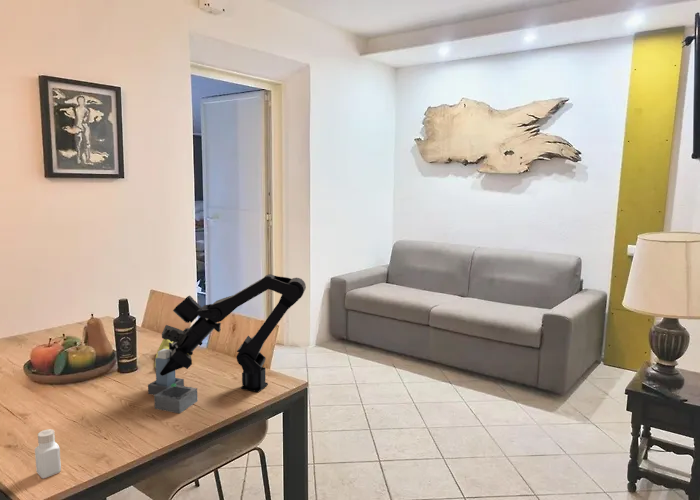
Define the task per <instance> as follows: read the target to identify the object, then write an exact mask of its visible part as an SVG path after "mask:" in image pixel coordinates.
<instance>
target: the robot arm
mask: <svg viewBox="0 0 700 500" xmlns="http://www.w3.org/2000/svg"><path fill="white" fill-rule="evenodd" d="M269 290H271V291H273V292H275V293H277V294H280V295H281V296H280V298H279V300H278V302H277V304H276V306H275V307H274V308H273V309H272V311H271V312H270V313H269V315H268V316H267V318H266V319H265V321H264V322H263V323H262V325H261V326H260V328H259V329H258V330H257V332H256V333H255V334H254V336H252V337H250V335H247V337H246V338H245V339H244V341H243V343H242V344H241V345H240V347H239V348H238V349H237V350H236V353H237V355H236V361H237V364H238V365H240V366H241V368H242V373H241V384H242V386H241V387H240V389H241V390H244V391H250V392H256V393H259V392H261V391H262V390H263V389H264V388H266V387H267V386H268V385H269V383H268V382H266V367H264V366H263V365H264V364H265V362H266V358H267V357H266V356H264V355H263V354H262V353H261V350H262V348H263V345H264V343H265V342H266V340H267V339H268V338H269V336H270V335H271V333H272V332H273V330H275V328H276V327H277V325H278V324H279V322H280V321H281V320H282V318H283V317H284V316H285V314H286V313H287V312H288V310H289V309H291V307H292V306H294V305H295V304H296V303H297V302H298V301H299V300H300V299H301V298H302V297H303V295H304V293H305V290H306V282H305V281H304V280H303V279H302V278H300V277H293V278H290V277H286V276H278V275H273V274H271V273H270V274H269V273H268V274H266V275H265V276H264V277H262V278H261V279H259V280H258V281H255V282H254V283H252V284H250V285H249V286H247V287H246V288H244V289H242V290H240V291H239V292H236V293H235V294H233V295H231V296H226V297H223V298H219V299H218V300H216V301H214V302H213V303H211V304H204V305H203V306H201V305H200V304H199V303H198V302H196V300H195V299H194V298H193V297H192V296H191V295H188V296H186V297H185V298H184V299H183V300H182V301H181V302H180V303H177V305H176V306H175V307H174V309H173V310H172V312H173V313H175V315H177V316H178V317H179V318H180V319H181V320H182V321H184V323H187V324H189V323H191V326H190V327H187V328H184V329H183V330H181V329H179V328H177V327H175V326H171V325H169V324H168V325H167V324H166V325H165V326H164V328H163V330H162V333H161V338H162V340H163V339H165V340H167V339H168V340H170V341H171V342H172V341H173V343H172V344H171V343H170V342H169V349H170V350H172V353H171V352H170V359H169V361H168V362H167V364H166V365H165V366H164V368H163V369H162V371H161V372H160V375H162V376H163V375H165V374H168V373H170V372H172V371H175V372H176V371H177V370H180V369H182V368H185V369H186V370H188V369H189V368H190V367H191V366H192V364H193V362H192V361H193V360H192V355H193V354H194V350H195V349H197V347H198V346H202V345H203V341H204V340H205V339H206V338H207V337H208V336H209V335H210V334H211V333H212V332H213V331H214V330H215V331H216V332H218V333H220V332H221V325H222V323H221V322H222V321H223V320H225V318H227V317H228V316H229V315H231V314H232V313H233V312H234V311H235V310H237V308H238V307H240V306H242V305H243V304H245V303H247V302H249V301H251V300H253V299H254V298H255V297H257V296H259V295H261V294H263V293H264V292H266V291H269ZM198 317H199V318H198ZM197 318H198V319H197ZM196 319H197V320H196ZM194 321H195V322H194ZM193 322H194V323H193ZM192 323H193V324H192ZM187 353H188V354H187Z"/></svg>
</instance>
